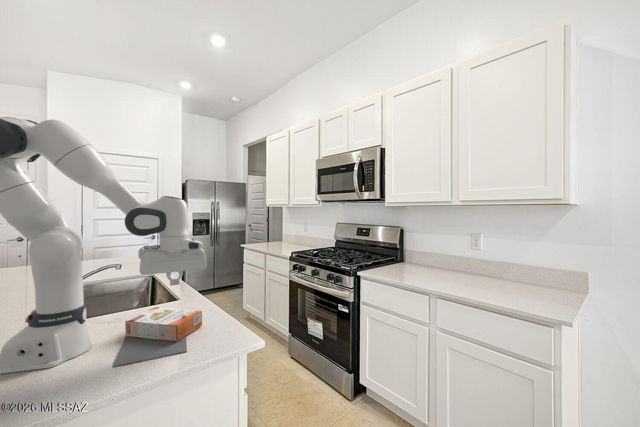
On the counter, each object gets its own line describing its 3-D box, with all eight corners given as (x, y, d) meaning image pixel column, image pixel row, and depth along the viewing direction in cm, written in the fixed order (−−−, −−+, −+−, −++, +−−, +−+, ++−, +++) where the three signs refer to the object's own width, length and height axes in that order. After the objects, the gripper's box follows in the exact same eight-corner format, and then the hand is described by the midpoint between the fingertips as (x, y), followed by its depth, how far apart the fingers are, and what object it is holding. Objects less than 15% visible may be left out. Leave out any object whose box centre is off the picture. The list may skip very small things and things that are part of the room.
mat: (113, 367, 81) (112, 366, 81) (126, 335, 101) (126, 334, 101) (186, 352, 90) (186, 351, 90) (185, 325, 109) (185, 324, 109)
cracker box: (177, 324, 95) (123, 320, 99) (177, 342, 95) (124, 337, 99) (202, 309, 109) (154, 306, 113) (202, 325, 109) (155, 321, 113)
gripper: (137, 247, 90) (137, 291, 90) (206, 243, 99) (207, 283, 99) (139, 244, 95) (140, 286, 96) (205, 241, 104) (205, 279, 105)
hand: (174, 284), depth 98 cm, fingers closed
